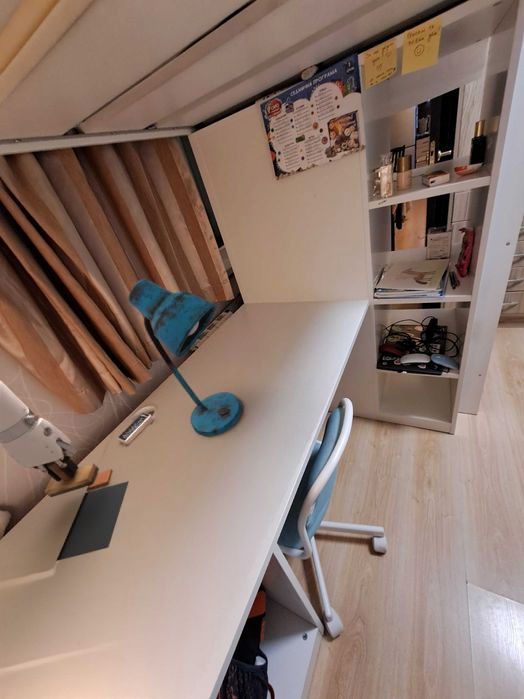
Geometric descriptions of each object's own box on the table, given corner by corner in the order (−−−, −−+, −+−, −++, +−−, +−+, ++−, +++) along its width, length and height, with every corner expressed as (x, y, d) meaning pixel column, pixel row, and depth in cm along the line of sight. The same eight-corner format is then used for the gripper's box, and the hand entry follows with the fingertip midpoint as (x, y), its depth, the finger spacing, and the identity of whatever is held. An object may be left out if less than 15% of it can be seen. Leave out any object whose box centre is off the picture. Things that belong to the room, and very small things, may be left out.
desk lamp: (242, 443, 78) (167, 291, 53) (180, 431, 88) (93, 299, 63) (264, 399, 89) (210, 258, 64) (207, 393, 99) (142, 269, 74)
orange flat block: (81, 493, 79) (78, 490, 78) (87, 480, 82) (84, 477, 81) (95, 489, 79) (92, 486, 78) (100, 476, 82) (97, 473, 81)
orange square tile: (96, 488, 79) (93, 486, 78) (100, 475, 82) (97, 473, 81) (109, 484, 78) (106, 481, 78) (113, 471, 82) (111, 468, 81)
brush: (50, 497, 71) (25, 476, 66) (59, 481, 75) (35, 460, 70) (93, 484, 71) (70, 462, 66) (99, 468, 75) (78, 447, 70)
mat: (28, 569, 65) (26, 568, 65) (61, 500, 78) (60, 499, 78) (109, 548, 64) (108, 547, 64) (130, 482, 77) (128, 480, 77)
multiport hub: (120, 442, 91) (116, 437, 90) (146, 416, 98) (143, 411, 97) (128, 446, 89) (124, 441, 87) (154, 419, 96) (151, 414, 94)
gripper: (59, 403, 64) (104, 453, 74) (-8, 422, 65) (46, 469, 75) (40, 429, 58) (93, 480, 68) (-33, 449, 59) (29, 497, 69)
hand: (68, 474), depth 71 cm, fingers closed on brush, 2 cm apart
